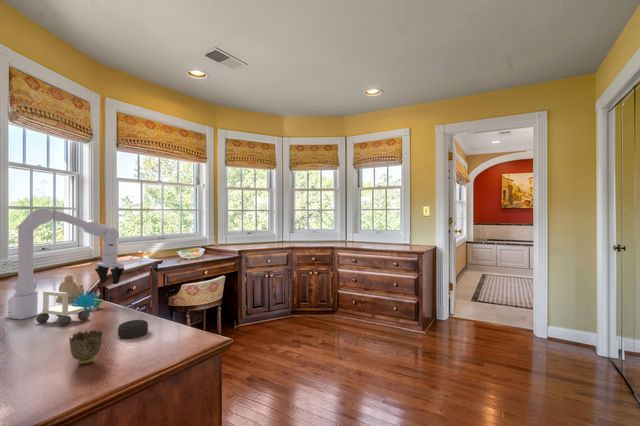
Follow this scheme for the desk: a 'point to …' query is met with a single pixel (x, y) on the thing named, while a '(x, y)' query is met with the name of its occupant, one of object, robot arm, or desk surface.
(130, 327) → the smart speaker
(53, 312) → the cart
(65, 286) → the statue
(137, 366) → the desk surface
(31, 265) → the robot arm
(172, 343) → the desk surface
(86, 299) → the blue green toy
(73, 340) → the cup
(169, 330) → the desk surface
